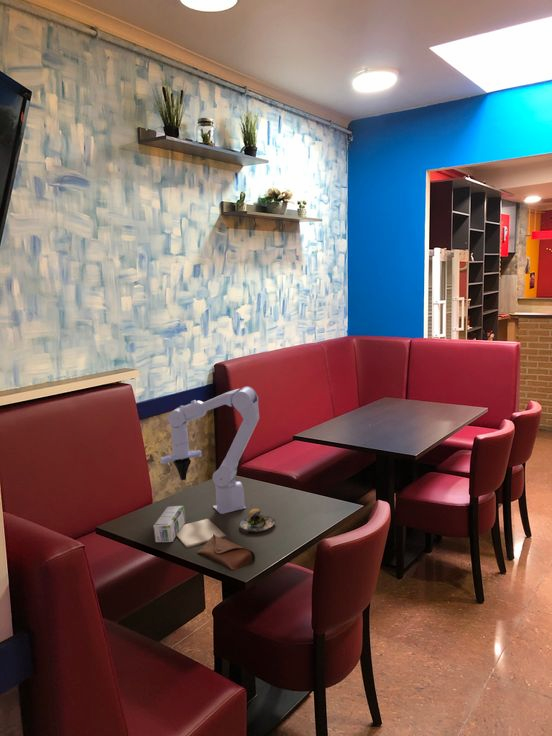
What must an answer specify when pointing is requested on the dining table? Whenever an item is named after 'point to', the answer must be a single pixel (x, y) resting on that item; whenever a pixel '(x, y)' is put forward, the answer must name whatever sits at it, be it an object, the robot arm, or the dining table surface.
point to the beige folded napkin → (198, 533)
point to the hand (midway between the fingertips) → (183, 479)
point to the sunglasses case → (226, 553)
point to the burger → (255, 522)
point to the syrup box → (169, 524)
